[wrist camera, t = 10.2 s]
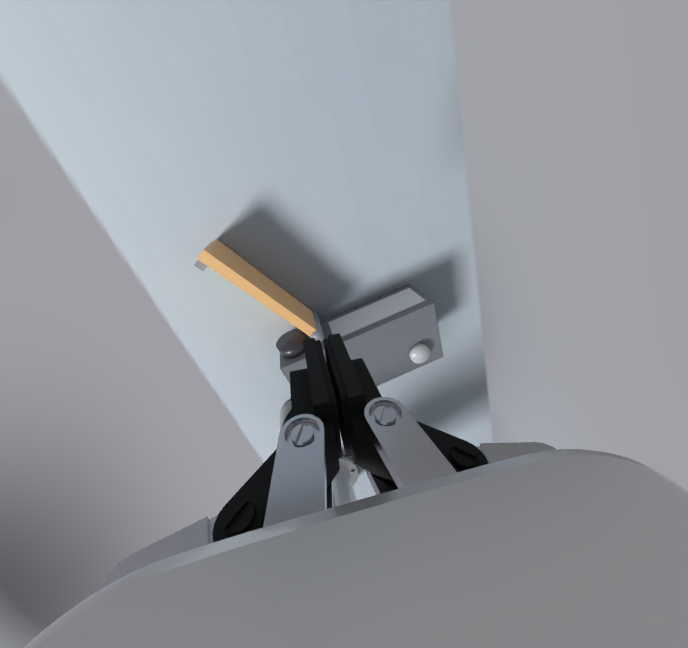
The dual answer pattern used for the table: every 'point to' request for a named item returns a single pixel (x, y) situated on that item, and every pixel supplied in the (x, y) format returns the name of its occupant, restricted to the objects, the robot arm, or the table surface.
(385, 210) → the table surface
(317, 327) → the tall beige panel
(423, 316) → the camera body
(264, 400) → the table surface
